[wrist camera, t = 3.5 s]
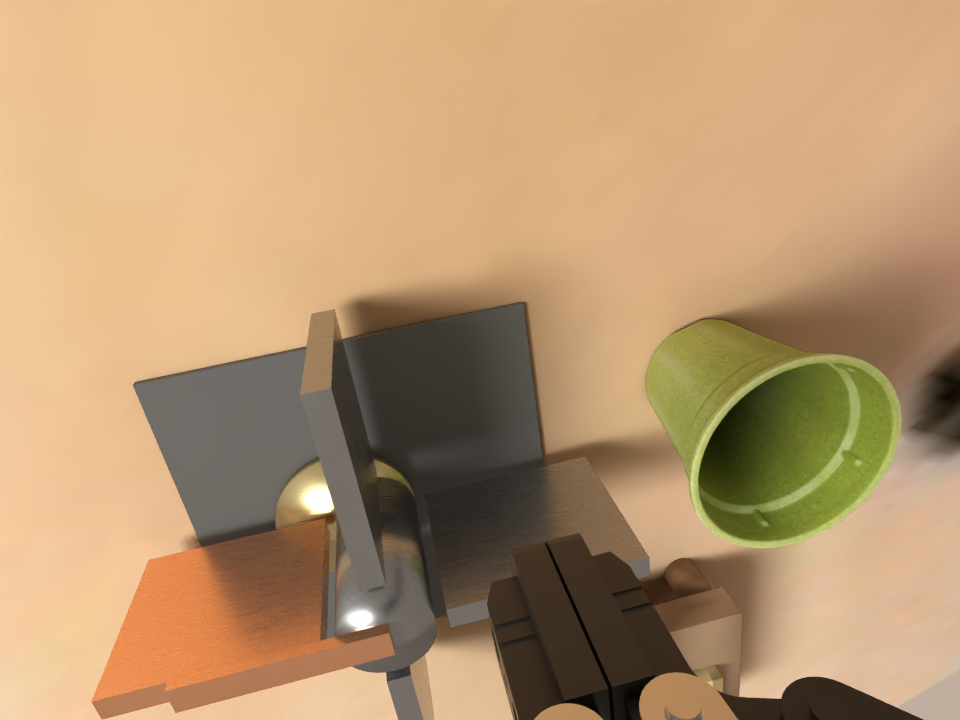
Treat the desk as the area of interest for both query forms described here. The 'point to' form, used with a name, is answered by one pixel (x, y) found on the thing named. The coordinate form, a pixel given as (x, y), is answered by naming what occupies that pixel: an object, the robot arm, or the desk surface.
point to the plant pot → (772, 431)
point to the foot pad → (386, 413)
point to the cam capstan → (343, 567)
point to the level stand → (704, 626)
